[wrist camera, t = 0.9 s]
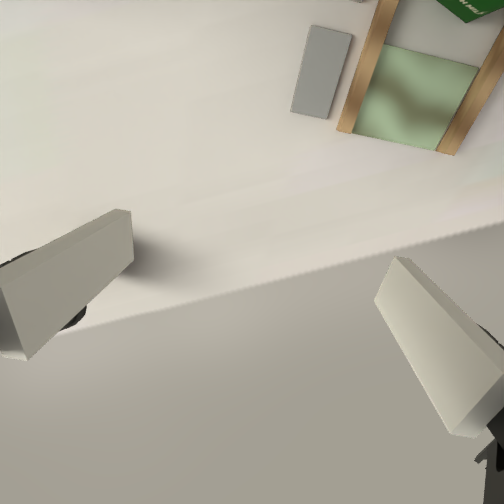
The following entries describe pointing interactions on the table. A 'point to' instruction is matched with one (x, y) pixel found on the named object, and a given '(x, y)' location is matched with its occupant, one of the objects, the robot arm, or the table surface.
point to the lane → (415, 91)
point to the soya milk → (471, 8)
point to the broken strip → (320, 71)
